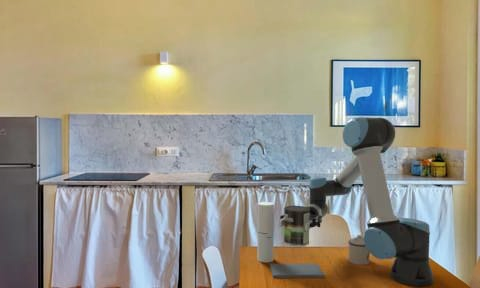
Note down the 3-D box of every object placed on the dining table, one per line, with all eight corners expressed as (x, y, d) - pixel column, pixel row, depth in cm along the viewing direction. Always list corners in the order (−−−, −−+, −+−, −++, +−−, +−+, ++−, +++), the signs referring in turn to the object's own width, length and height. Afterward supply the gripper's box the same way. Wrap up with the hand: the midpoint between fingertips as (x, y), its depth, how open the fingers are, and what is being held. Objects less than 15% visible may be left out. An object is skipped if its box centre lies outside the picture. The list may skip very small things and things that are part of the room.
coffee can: (292, 248, 143) (292, 211, 143) (279, 240, 153) (279, 206, 152) (314, 244, 147) (315, 209, 147) (300, 237, 157) (300, 204, 156)
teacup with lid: (372, 266, 157) (372, 239, 157) (350, 265, 158) (350, 238, 158) (365, 256, 169) (366, 231, 168) (345, 255, 170) (345, 230, 170)
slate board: (317, 266, 156) (317, 263, 156) (324, 277, 144) (324, 275, 144) (270, 266, 156) (270, 263, 156) (273, 277, 144) (273, 275, 144)
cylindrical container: (258, 256, 168) (258, 201, 167) (273, 257, 167) (274, 202, 166) (256, 261, 161) (257, 204, 160) (273, 262, 160) (273, 205, 159)
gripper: (336, 225, 160) (320, 239, 141) (287, 219, 171) (266, 230, 152) (336, 208, 160) (321, 219, 140) (287, 203, 171) (267, 212, 151)
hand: (292, 225), depth 146 cm, fingers closed on coffee can, 10 cm apart
